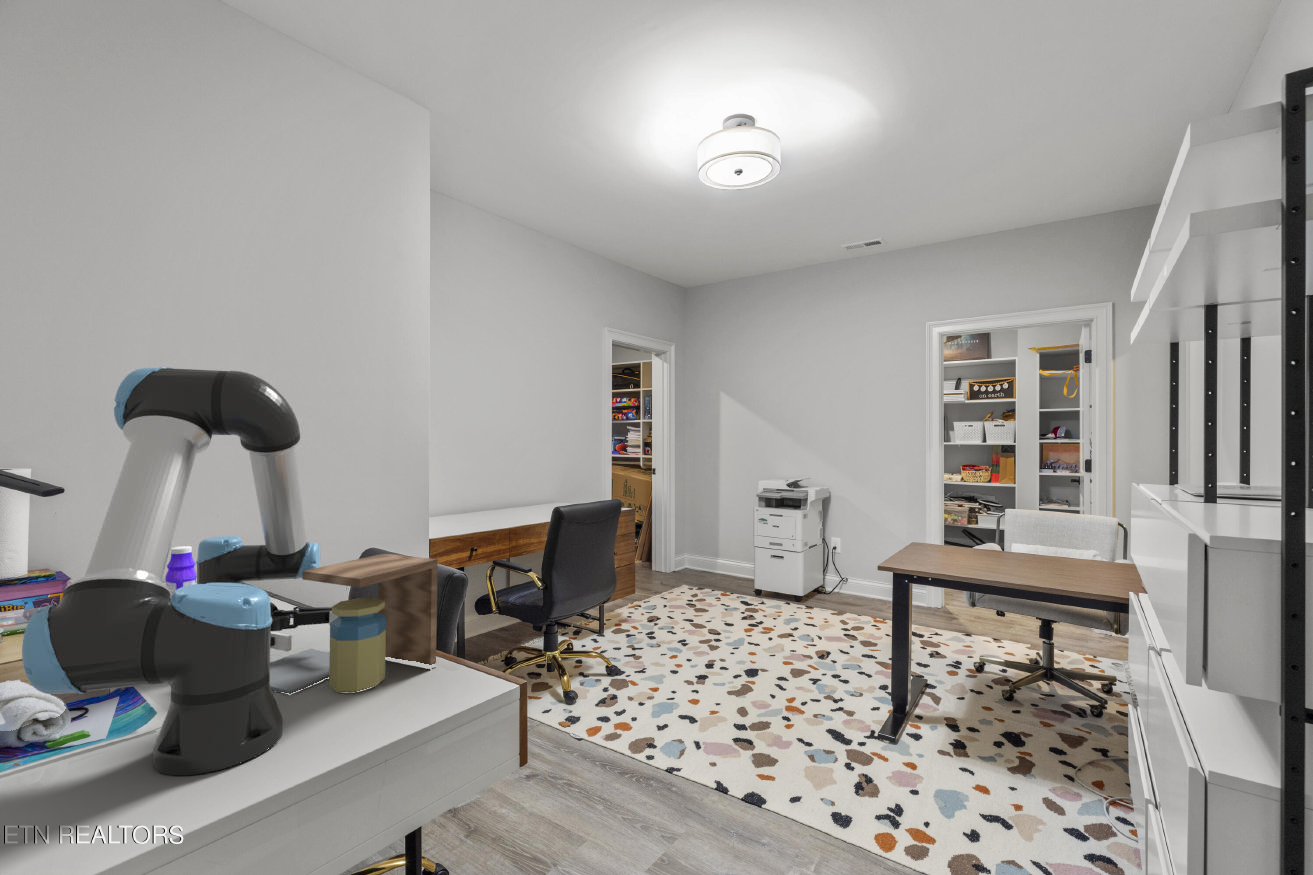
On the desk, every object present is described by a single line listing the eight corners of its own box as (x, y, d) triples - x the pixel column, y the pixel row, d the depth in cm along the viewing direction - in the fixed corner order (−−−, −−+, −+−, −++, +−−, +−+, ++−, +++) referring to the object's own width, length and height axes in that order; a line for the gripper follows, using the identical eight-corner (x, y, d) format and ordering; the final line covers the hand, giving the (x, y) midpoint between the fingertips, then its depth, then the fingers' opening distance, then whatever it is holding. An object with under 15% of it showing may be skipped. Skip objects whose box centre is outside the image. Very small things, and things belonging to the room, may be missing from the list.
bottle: (200, 615, 148) (201, 547, 148) (172, 621, 143) (173, 550, 143) (188, 611, 152) (189, 544, 152) (160, 616, 147) (161, 547, 147)
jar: (356, 699, 101) (358, 613, 102) (316, 691, 104) (318, 607, 104) (396, 679, 110) (397, 599, 110) (358, 672, 113) (359, 595, 113)
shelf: (435, 667, 116) (437, 559, 116) (357, 705, 99) (359, 578, 99) (383, 656, 121) (384, 553, 122) (300, 691, 104) (302, 571, 105)
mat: (366, 663, 117) (366, 659, 117) (289, 695, 103) (289, 691, 103) (310, 652, 123) (310, 648, 123) (230, 680, 109) (230, 676, 109)
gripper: (306, 619, 131) (376, 632, 123) (179, 657, 107) (257, 675, 99) (306, 585, 131) (377, 596, 123) (180, 616, 107) (258, 631, 100)
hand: (323, 632), depth 111 cm, fingers open, 13 cm apart
